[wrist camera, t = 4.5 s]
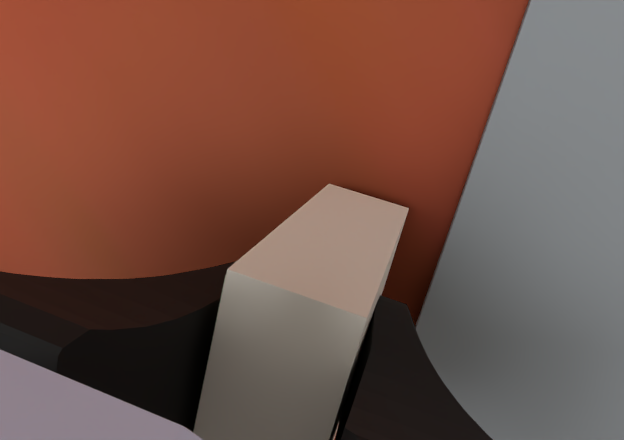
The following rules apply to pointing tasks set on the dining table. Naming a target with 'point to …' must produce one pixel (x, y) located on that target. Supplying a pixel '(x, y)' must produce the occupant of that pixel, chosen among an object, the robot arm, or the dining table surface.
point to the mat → (541, 239)
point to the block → (298, 320)
